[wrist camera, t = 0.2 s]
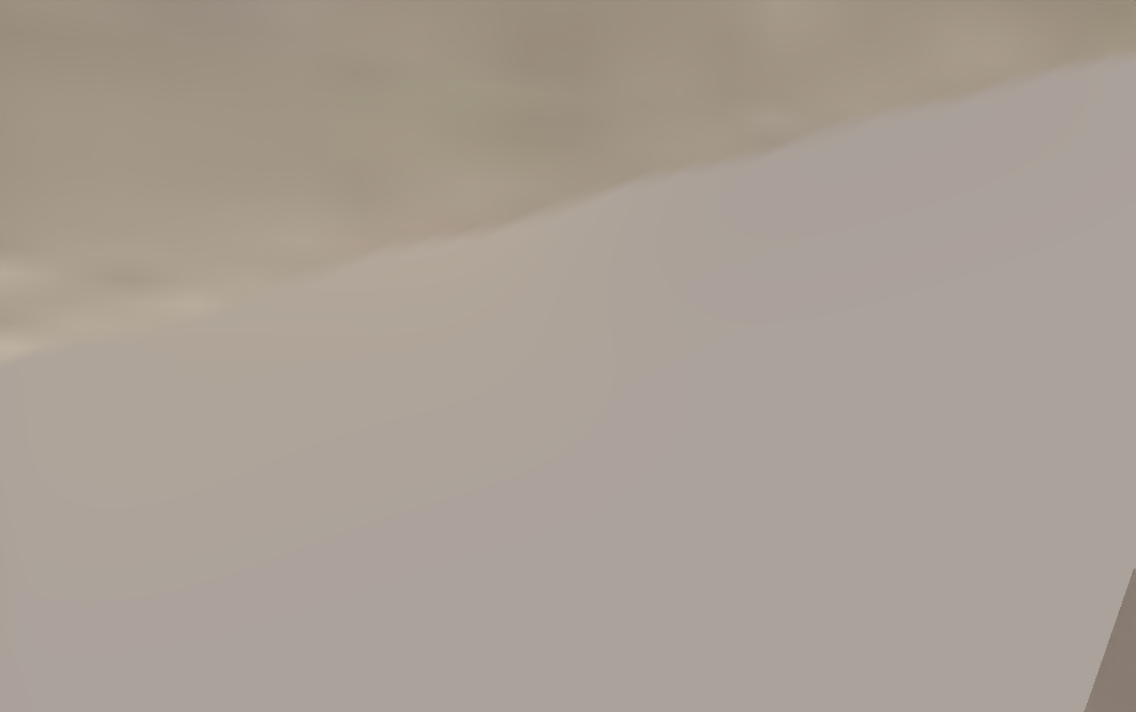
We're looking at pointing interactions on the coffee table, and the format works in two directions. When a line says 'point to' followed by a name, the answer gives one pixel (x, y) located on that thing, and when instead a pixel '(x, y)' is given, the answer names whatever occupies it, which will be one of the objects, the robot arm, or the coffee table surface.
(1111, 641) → the robot arm
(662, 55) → the coffee table surface
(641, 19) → the coffee table surface
